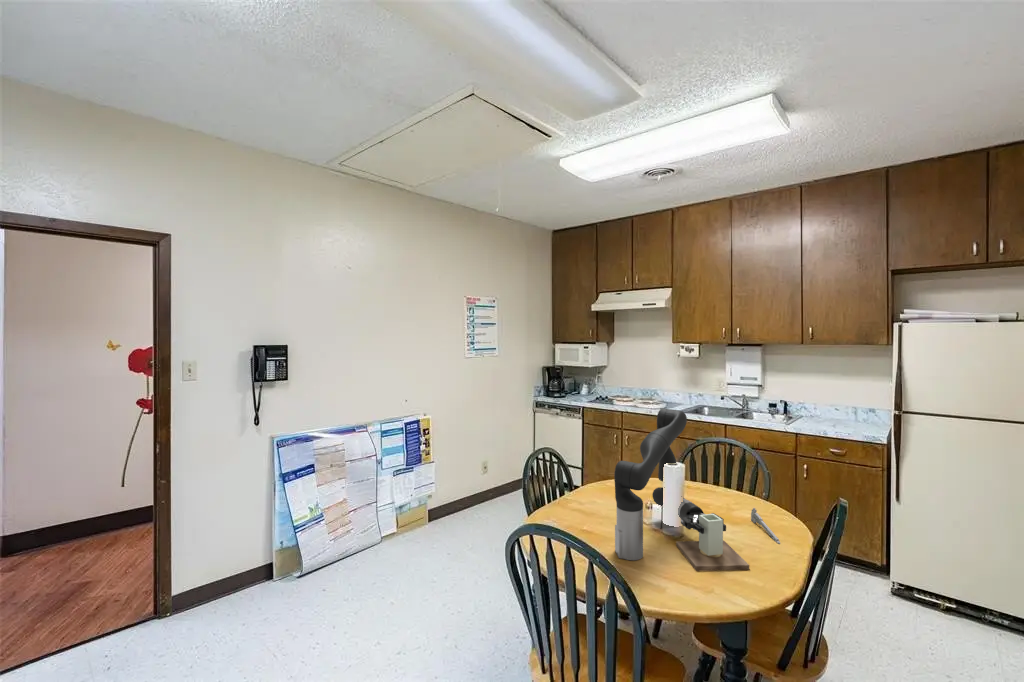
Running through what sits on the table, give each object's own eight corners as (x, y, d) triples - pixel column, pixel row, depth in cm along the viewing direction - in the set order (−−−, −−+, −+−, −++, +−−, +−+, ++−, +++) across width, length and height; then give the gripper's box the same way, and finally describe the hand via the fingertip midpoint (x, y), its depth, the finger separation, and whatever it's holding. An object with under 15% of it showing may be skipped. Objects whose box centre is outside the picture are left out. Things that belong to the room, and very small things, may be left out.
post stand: (696, 570, 158) (696, 537, 157) (676, 545, 176) (676, 515, 175) (749, 569, 158) (749, 536, 158) (723, 544, 176) (724, 514, 176)
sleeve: (708, 555, 164) (708, 521, 163) (698, 548, 169) (699, 515, 169) (722, 553, 165) (723, 520, 164) (713, 546, 170) (713, 513, 170)
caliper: (750, 521, 197) (750, 506, 196) (753, 521, 197) (753, 506, 196) (777, 544, 176) (778, 528, 176) (780, 544, 176) (781, 528, 176)
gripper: (671, 503, 179) (695, 521, 163) (704, 500, 182) (732, 517, 166) (671, 523, 179) (695, 542, 163) (704, 519, 182) (732, 538, 166)
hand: (714, 529), depth 165 cm, fingers open, 8 cm apart
